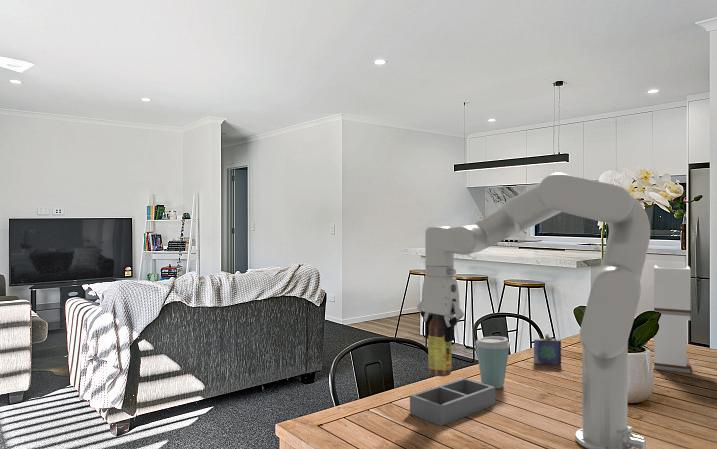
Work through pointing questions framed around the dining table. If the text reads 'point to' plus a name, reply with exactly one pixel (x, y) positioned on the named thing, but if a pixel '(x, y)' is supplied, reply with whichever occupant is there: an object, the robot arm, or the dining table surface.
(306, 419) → the dining table surface
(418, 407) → the dock
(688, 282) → the white square tower
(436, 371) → the sauce bottle
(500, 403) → the dining table surface
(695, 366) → the dining table surface
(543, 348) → the flask
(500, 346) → the disposable coffee cup
